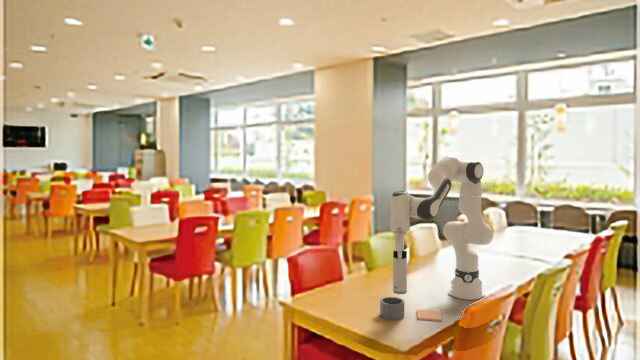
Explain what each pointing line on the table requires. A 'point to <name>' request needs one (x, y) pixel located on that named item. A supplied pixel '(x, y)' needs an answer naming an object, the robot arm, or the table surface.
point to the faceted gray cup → (392, 308)
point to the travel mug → (400, 273)
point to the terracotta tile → (429, 315)
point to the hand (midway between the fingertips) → (400, 255)
